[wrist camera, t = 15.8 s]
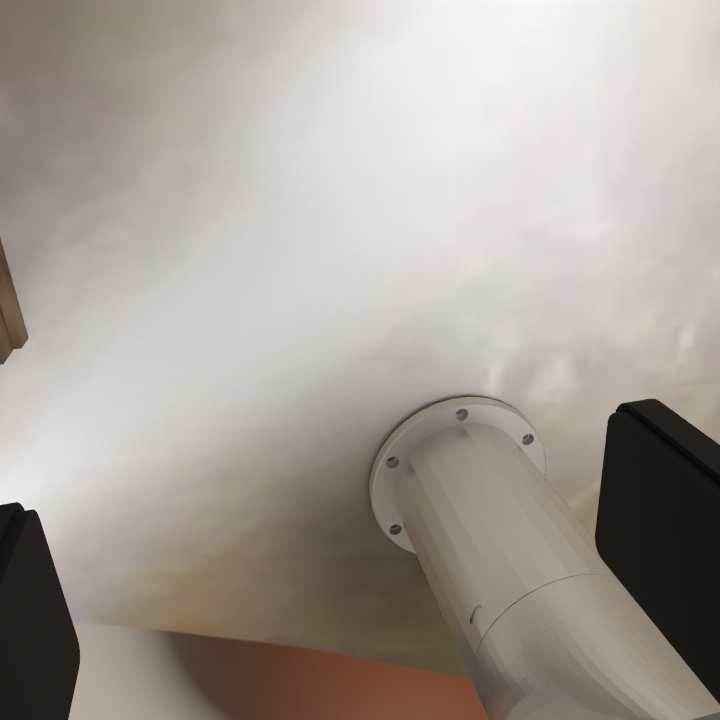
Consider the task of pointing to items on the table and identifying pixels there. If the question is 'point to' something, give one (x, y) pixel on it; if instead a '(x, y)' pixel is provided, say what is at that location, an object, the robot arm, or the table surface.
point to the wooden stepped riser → (9, 314)
